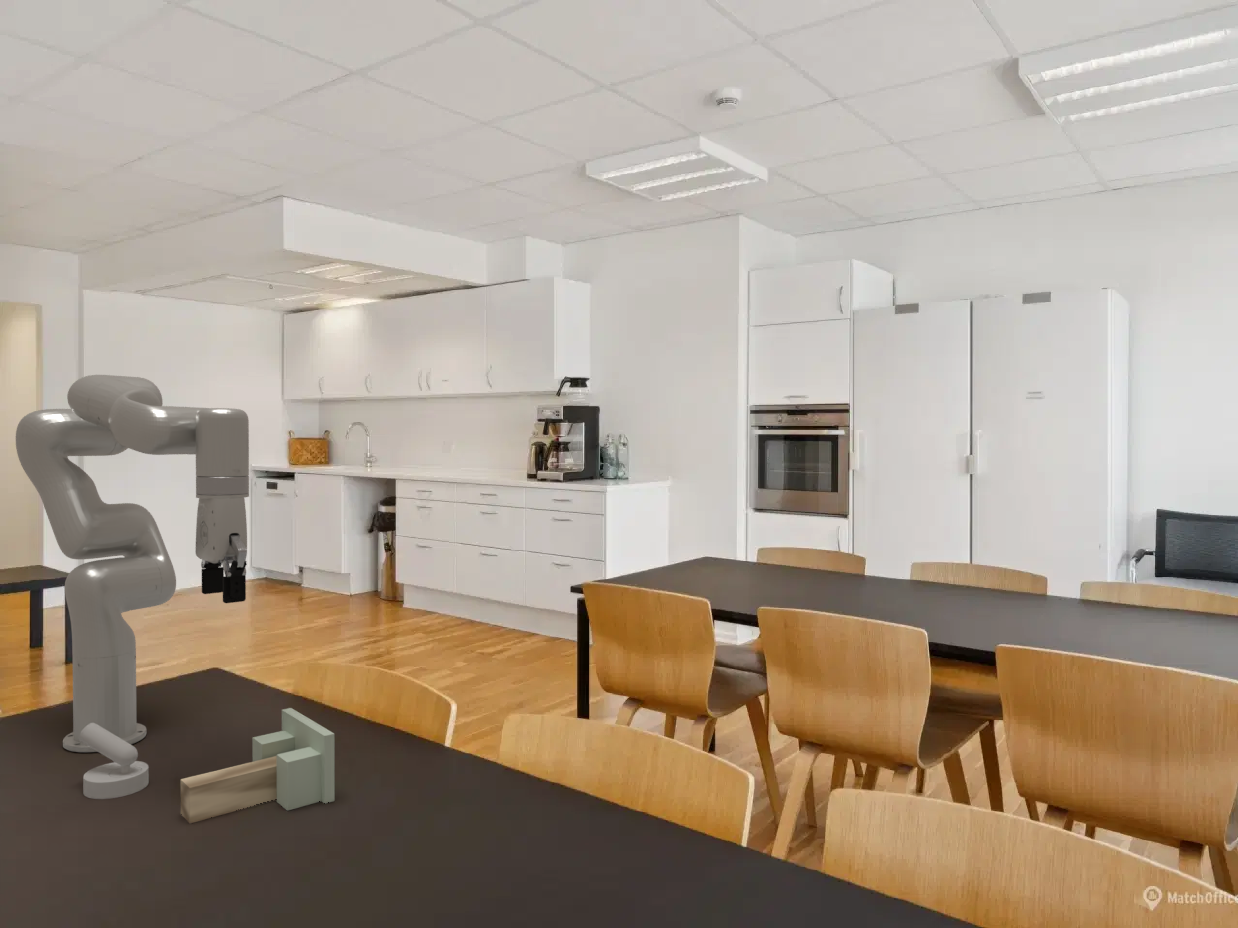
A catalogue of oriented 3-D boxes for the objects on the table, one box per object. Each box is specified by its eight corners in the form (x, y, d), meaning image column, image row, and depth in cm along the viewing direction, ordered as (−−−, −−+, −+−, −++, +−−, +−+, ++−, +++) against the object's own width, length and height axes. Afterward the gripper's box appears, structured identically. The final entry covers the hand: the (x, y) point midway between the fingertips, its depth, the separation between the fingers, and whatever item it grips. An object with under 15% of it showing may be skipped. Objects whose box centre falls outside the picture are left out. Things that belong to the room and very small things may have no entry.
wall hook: (105, 713, 138) (160, 718, 136) (106, 773, 138) (161, 779, 136) (60, 731, 130) (118, 737, 128) (61, 795, 130) (119, 801, 128)
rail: (180, 813, 124) (180, 779, 124) (292, 784, 135) (292, 752, 135) (189, 823, 121) (189, 787, 121) (302, 791, 132) (302, 759, 132)
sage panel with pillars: (249, 779, 136) (249, 716, 136) (291, 769, 141) (290, 707, 140) (290, 813, 124) (290, 743, 124) (334, 800, 129) (334, 733, 128)
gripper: (179, 485, 140) (180, 592, 140) (216, 491, 127) (216, 609, 128) (228, 484, 145) (229, 587, 145) (268, 490, 132) (268, 602, 133)
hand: (223, 597), depth 137 cm, fingers open, 9 cm apart
